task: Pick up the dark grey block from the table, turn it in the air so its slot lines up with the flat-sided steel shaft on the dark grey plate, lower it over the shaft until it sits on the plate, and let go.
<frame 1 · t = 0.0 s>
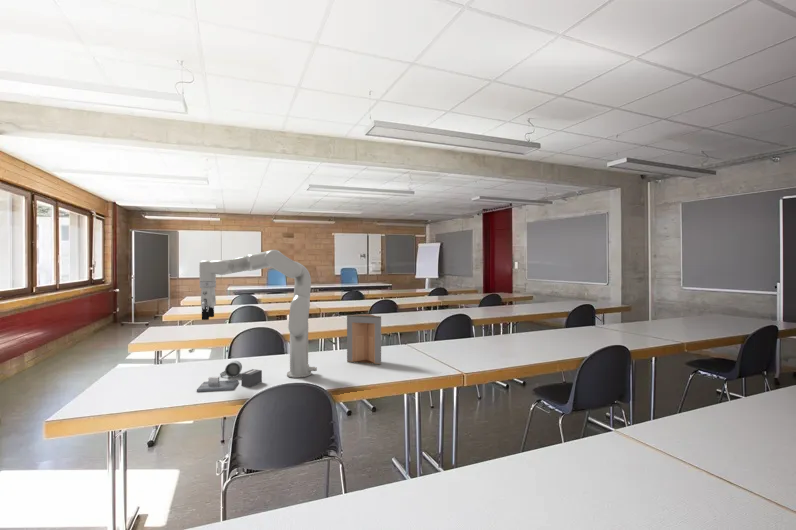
hand: (208, 318, 209), 31 cm above the table, tool pointing down, fingers open, 9 cm apart
dark grey block: (251, 383, 201), on the table
ceramic mug: (231, 376, 216), on the table
cabinet: (366, 362, 245), on the table
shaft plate: (218, 386, 197), on the table
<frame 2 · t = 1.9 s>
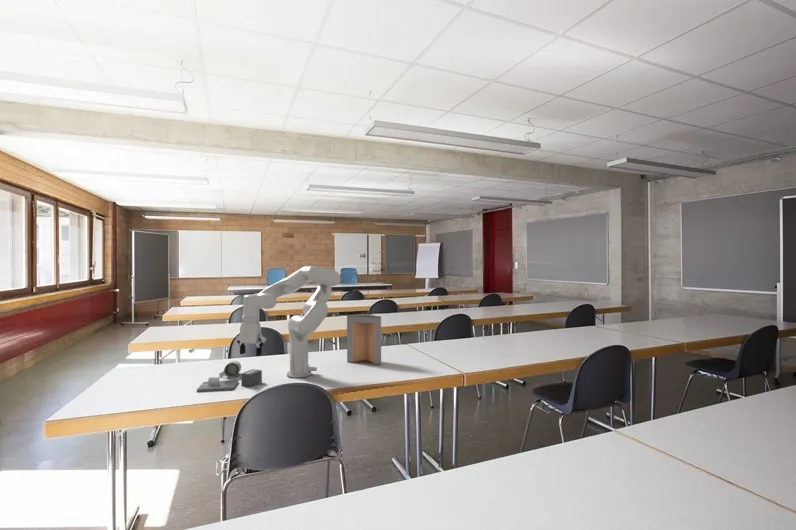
hand: (250, 354, 201), 15 cm above the table, tool pointing down, fingers open, 9 cm apart
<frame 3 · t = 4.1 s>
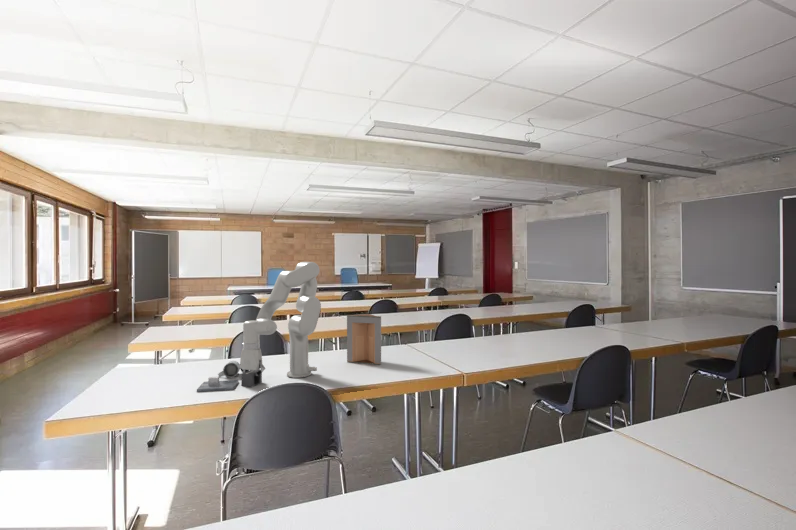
hand: (251, 382, 201), 1 cm above the table, tool pointing down, fingers closed on dark grey block, 5 cm apart
dark grey block: (251, 383, 201), on the table, touching gripper
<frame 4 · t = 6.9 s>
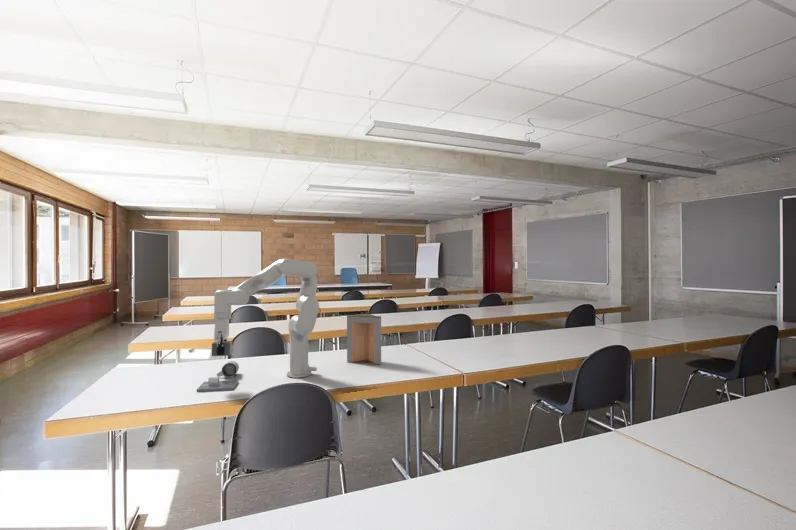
hand: (222, 352, 197), 16 cm above the table, tool pointing down, fingers closed on dark grey block, 5 cm apart
dark grey block: (222, 354, 197), point 15 cm above the table, touching gripper
when the fingers open (3 cm above the table, at t = 9.8 s): dark grey block stays where it is, resting on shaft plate.
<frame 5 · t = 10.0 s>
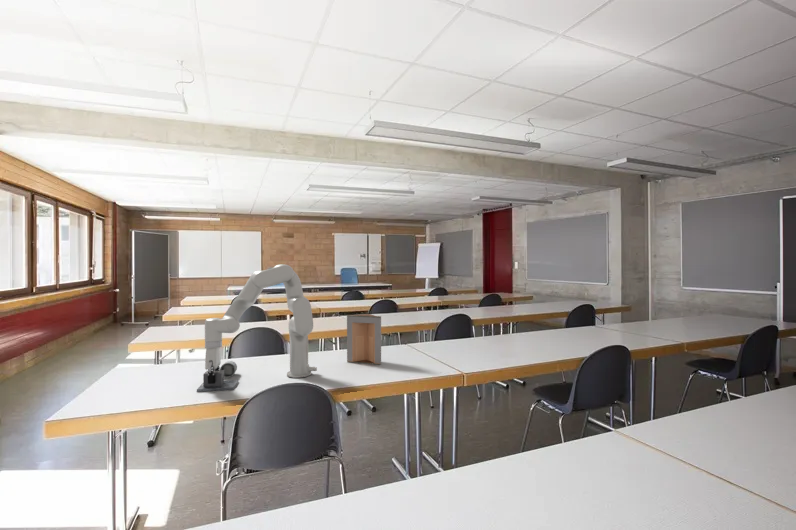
hand: (213, 380, 196), 3 cm above the table, tool pointing down, fingers open, 7 cm apart
dark grey block: (214, 384, 196), point 1 cm above the table, touching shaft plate
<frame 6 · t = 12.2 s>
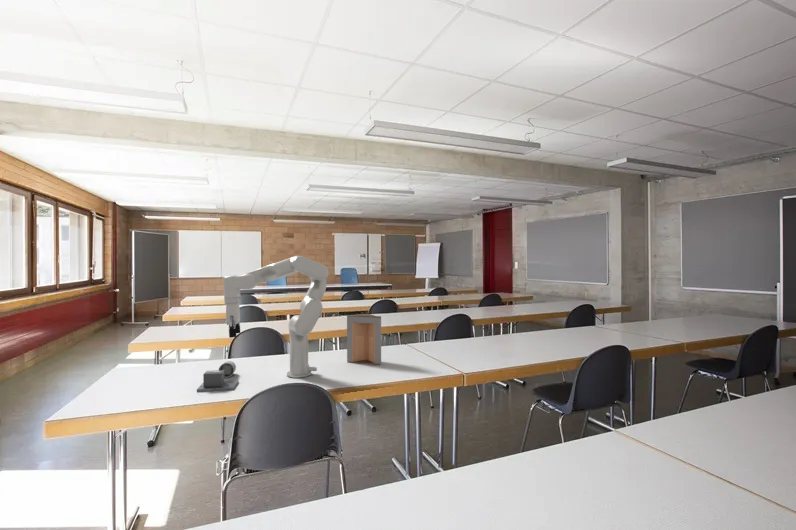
hand: (235, 335, 202), 24 cm above the table, tool pointing down, fingers open, 9 cm apart
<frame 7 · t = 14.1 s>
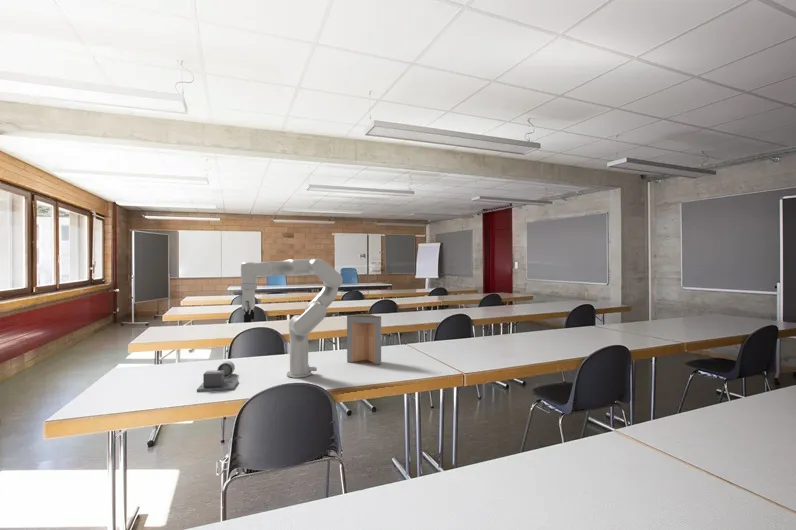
hand: (249, 320, 206), 30 cm above the table, tool pointing down, fingers open, 9 cm apart
at the end: dark grey block 0.0 cm from the target spot on the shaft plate, point 1.3 cm above the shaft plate's base; dark grey block tilted 1°; the gripper is holding nothing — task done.
